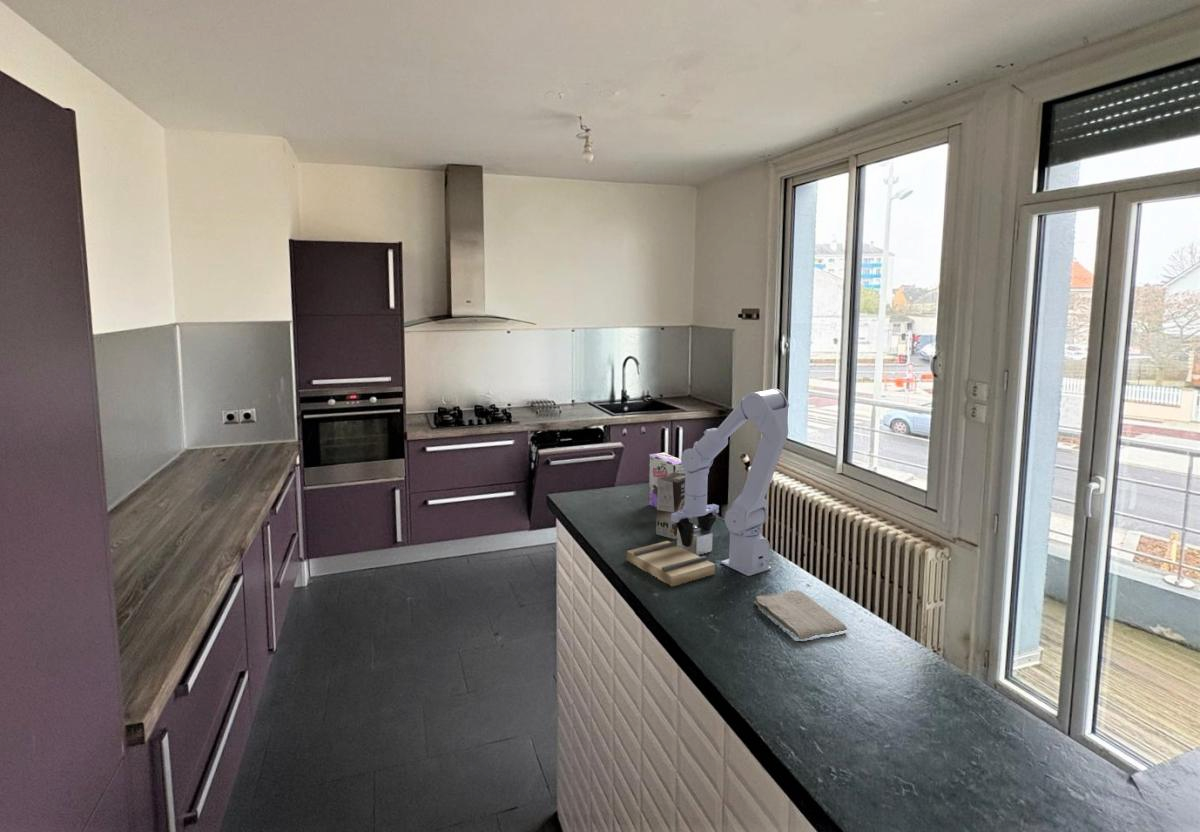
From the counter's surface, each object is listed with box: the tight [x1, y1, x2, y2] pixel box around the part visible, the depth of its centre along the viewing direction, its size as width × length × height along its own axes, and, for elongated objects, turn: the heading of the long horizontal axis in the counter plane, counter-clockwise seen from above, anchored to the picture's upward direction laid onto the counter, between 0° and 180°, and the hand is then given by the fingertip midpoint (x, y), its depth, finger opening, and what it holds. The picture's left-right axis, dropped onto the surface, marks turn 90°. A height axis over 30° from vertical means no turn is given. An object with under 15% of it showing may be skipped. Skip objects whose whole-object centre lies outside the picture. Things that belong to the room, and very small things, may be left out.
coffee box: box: [655, 472, 693, 540], centre depth 190 cm, size 9×6×16 cm
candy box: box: [648, 451, 685, 510], centre depth 210 cm, size 14×6×16 cm, turn 28°
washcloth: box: [753, 589, 848, 639], centre depth 143 cm, size 12×18×3 cm, turn 19°
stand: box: [626, 540, 716, 587], centre depth 168 cm, size 18×13×3 cm
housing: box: [676, 524, 714, 556], centre depth 180 cm, size 8×5×6 cm, turn 32°
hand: (694, 543), depth 180 cm, fingers closed on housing, 5 cm apart
